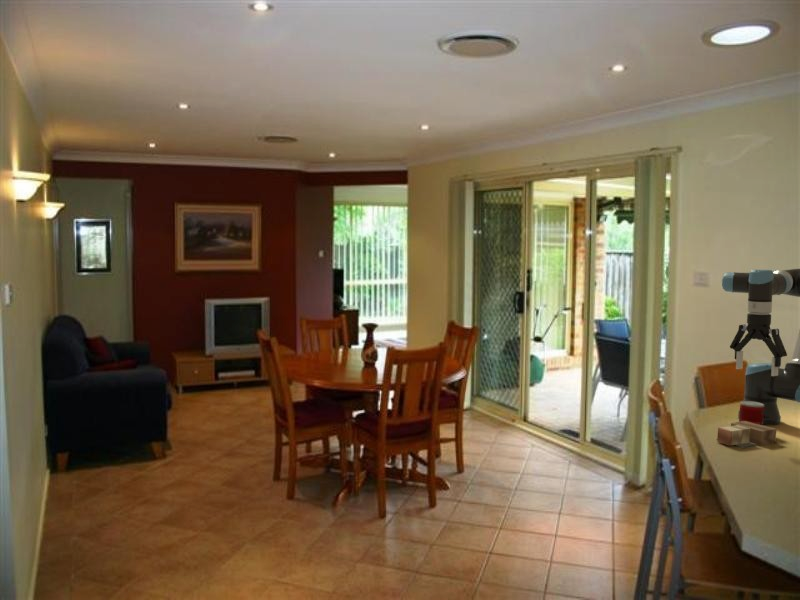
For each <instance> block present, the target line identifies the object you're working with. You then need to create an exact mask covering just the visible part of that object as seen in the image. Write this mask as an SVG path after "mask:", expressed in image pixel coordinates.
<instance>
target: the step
mask: <svg viewBox="0 0 800 600" xmlns="http://www.w3.org/2000/svg"><path fill="white" fill-rule="evenodd" d="M735 425H739V426H743V427H746V428H750V439H749V442H752V443H756V444H757V445H759V446H765V445H771V444H775V443H776V440H777V438H776V437H777V436H776V435H777V428H774V427H771V426H768V425H767V426H766V425H764V424H763V425H759V424H755V423H751V422H748V421H741V422H739V421H736V422H731V423H730V426H735Z"/></svg>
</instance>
